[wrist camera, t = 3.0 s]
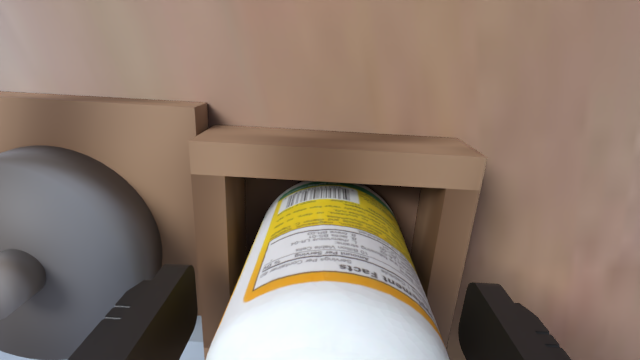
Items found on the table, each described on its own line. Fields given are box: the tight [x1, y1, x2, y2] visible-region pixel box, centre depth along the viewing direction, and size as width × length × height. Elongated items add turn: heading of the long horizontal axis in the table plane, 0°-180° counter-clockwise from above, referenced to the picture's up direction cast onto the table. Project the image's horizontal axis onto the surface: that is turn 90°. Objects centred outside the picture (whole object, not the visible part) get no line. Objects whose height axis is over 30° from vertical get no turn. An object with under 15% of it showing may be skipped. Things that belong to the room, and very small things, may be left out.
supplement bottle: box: [206, 181, 450, 360], centre depth 9 cm, size 5×5×10 cm
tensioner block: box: [0, 91, 487, 360], centre depth 12 cm, size 19×10×4 cm, turn 87°
